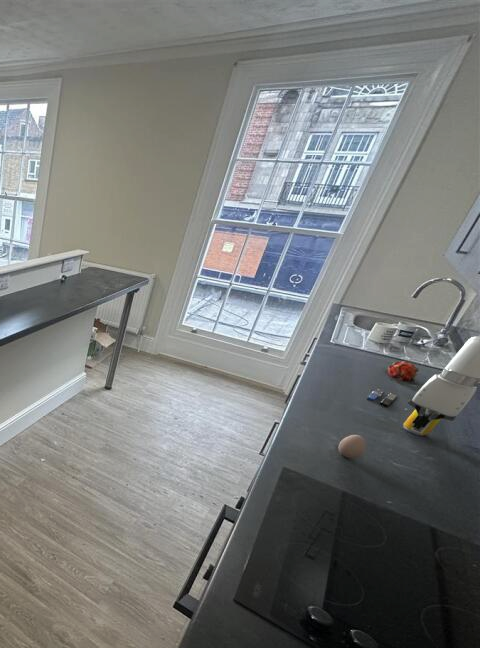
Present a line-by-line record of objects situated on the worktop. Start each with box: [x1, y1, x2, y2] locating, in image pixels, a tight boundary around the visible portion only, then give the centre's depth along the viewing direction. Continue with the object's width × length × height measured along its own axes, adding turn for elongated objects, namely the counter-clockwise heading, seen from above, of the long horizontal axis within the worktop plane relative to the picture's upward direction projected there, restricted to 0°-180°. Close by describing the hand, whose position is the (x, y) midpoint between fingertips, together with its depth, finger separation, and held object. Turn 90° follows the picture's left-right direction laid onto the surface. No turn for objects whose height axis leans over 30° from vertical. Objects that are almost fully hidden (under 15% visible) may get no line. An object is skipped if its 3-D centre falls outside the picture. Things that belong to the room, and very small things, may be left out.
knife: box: [379, 392, 398, 408], centre depth 149 cm, size 16×2×1 cm, turn 126°
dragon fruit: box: [386, 360, 420, 382], centre depth 164 cm, size 8×8×12 cm
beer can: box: [403, 408, 442, 436], centre depth 127 cm, size 6×6×15 cm
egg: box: [338, 434, 367, 459], centre depth 113 cm, size 5×5×7 cm
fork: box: [366, 388, 384, 402], centre depth 151 cm, size 15×3×1 cm, turn 126°
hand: (416, 426), depth 127 cm, fingers closed
